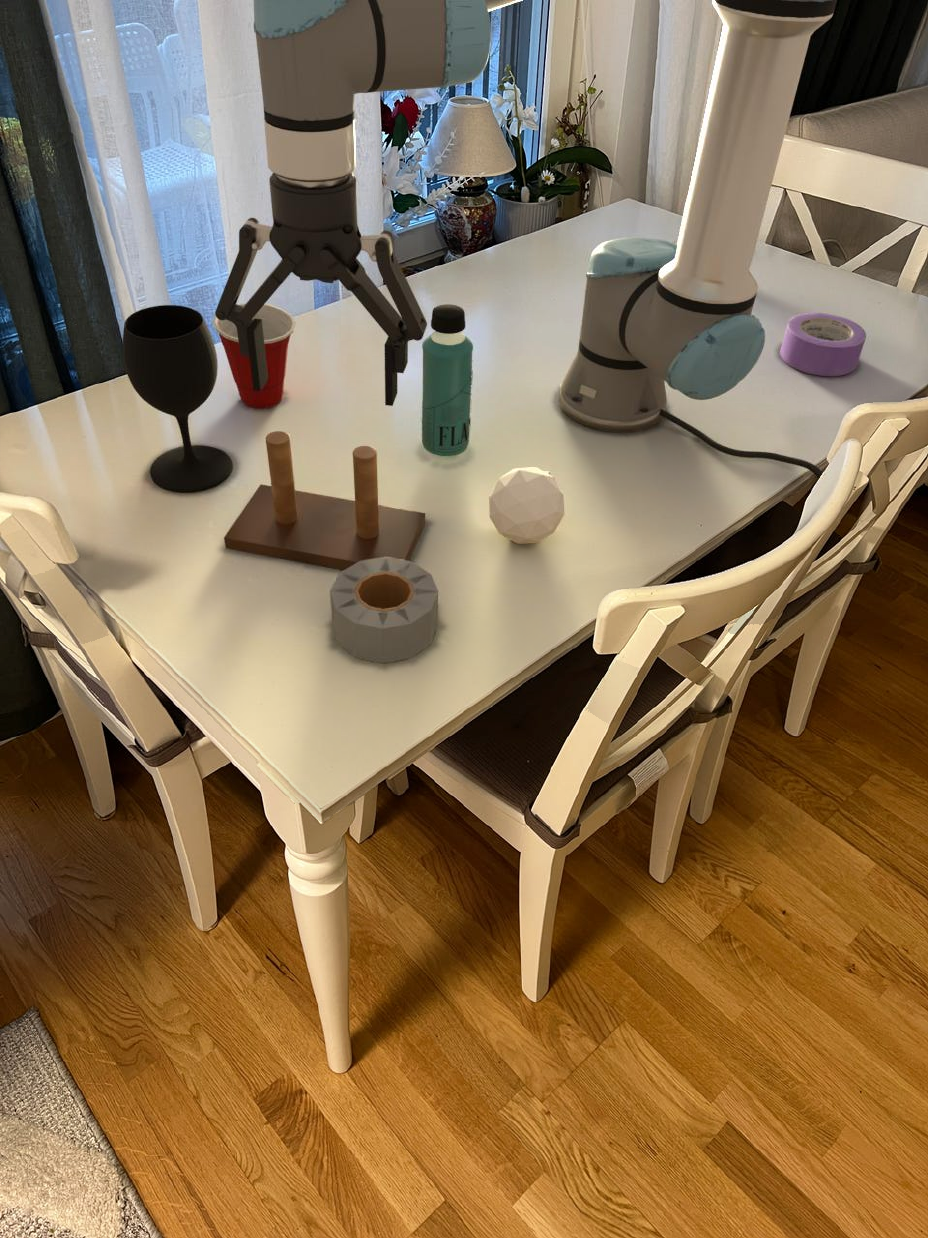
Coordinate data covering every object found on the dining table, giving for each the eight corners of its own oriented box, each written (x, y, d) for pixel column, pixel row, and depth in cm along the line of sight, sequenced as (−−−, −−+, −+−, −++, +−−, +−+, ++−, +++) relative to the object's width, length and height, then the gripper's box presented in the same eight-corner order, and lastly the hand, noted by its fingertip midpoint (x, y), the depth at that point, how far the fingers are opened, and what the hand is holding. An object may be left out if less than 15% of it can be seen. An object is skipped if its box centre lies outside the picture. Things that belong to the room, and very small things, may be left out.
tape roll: (774, 366, 146) (783, 336, 143) (785, 335, 154) (793, 306, 151) (852, 383, 143) (863, 353, 140) (859, 350, 151) (869, 321, 148)
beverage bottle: (433, 471, 122) (436, 326, 108) (411, 445, 126) (411, 302, 112) (478, 460, 124) (486, 316, 110) (455, 435, 128) (460, 293, 114)
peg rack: (425, 523, 114) (426, 433, 105) (400, 580, 106) (399, 488, 97) (262, 494, 117) (250, 404, 108) (225, 548, 109) (209, 456, 100)
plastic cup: (287, 423, 129) (279, 342, 120) (212, 412, 130) (199, 331, 122) (312, 385, 136) (306, 306, 128) (241, 375, 138) (231, 296, 129)
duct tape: (446, 602, 103) (447, 567, 100) (420, 671, 96) (421, 636, 92) (352, 584, 105) (350, 550, 101) (319, 651, 97) (316, 615, 94)
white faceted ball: (560, 557, 107) (581, 509, 116) (546, 484, 102) (569, 440, 112) (488, 560, 110) (515, 513, 119) (472, 489, 106) (501, 446, 115)
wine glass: (156, 447, 123) (124, 301, 109) (237, 446, 124) (215, 301, 110) (143, 494, 116) (107, 343, 102) (229, 492, 116) (205, 343, 103)
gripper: (460, 171, 83) (451, 386, 98) (187, 146, 85) (218, 361, 99) (448, 201, 78) (441, 424, 92) (157, 173, 79) (194, 396, 94)
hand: (325, 392), depth 96 cm, fingers open, 13 cm apart
